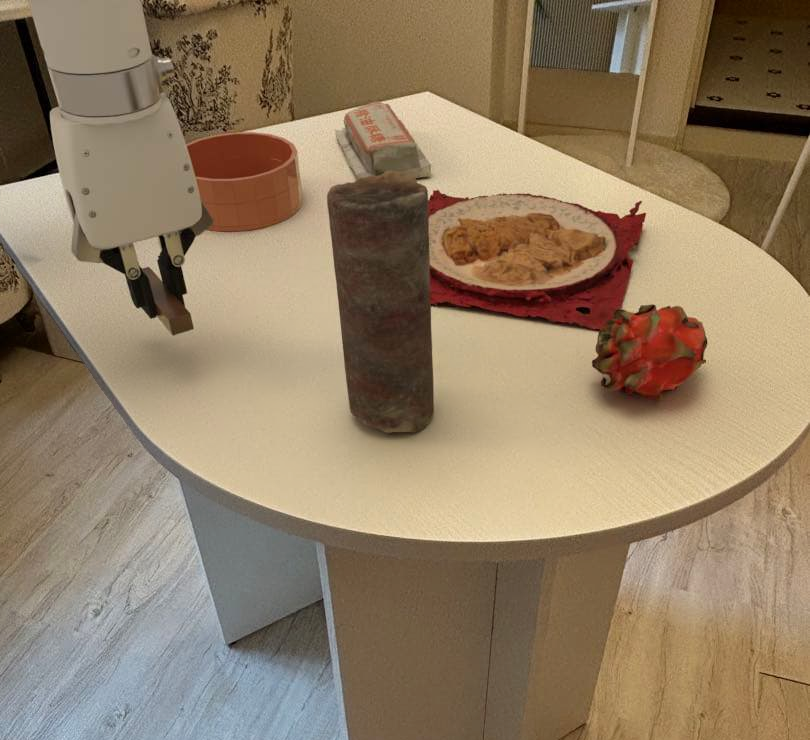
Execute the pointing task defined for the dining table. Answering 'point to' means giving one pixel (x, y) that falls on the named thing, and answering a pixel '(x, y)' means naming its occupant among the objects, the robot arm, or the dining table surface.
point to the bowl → (246, 179)
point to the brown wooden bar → (168, 306)
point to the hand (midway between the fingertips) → (162, 305)
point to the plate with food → (530, 256)
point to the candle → (384, 298)
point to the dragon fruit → (649, 350)
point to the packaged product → (380, 143)
